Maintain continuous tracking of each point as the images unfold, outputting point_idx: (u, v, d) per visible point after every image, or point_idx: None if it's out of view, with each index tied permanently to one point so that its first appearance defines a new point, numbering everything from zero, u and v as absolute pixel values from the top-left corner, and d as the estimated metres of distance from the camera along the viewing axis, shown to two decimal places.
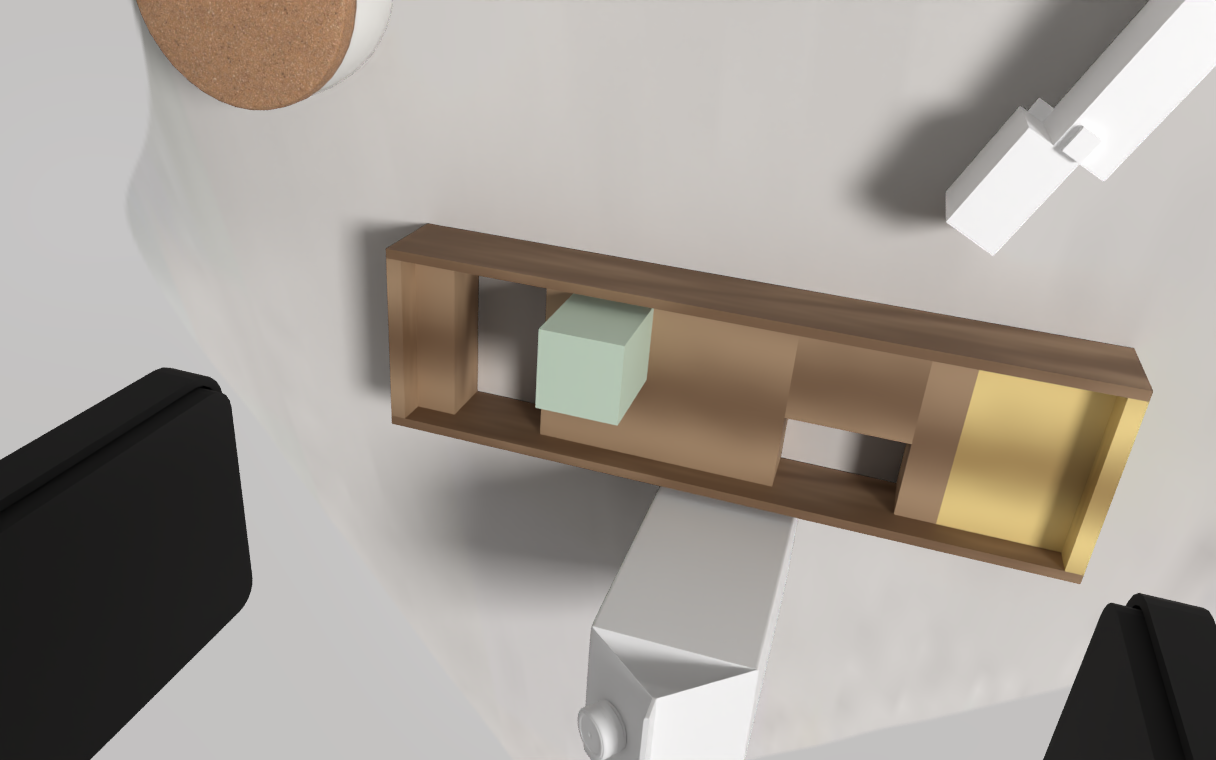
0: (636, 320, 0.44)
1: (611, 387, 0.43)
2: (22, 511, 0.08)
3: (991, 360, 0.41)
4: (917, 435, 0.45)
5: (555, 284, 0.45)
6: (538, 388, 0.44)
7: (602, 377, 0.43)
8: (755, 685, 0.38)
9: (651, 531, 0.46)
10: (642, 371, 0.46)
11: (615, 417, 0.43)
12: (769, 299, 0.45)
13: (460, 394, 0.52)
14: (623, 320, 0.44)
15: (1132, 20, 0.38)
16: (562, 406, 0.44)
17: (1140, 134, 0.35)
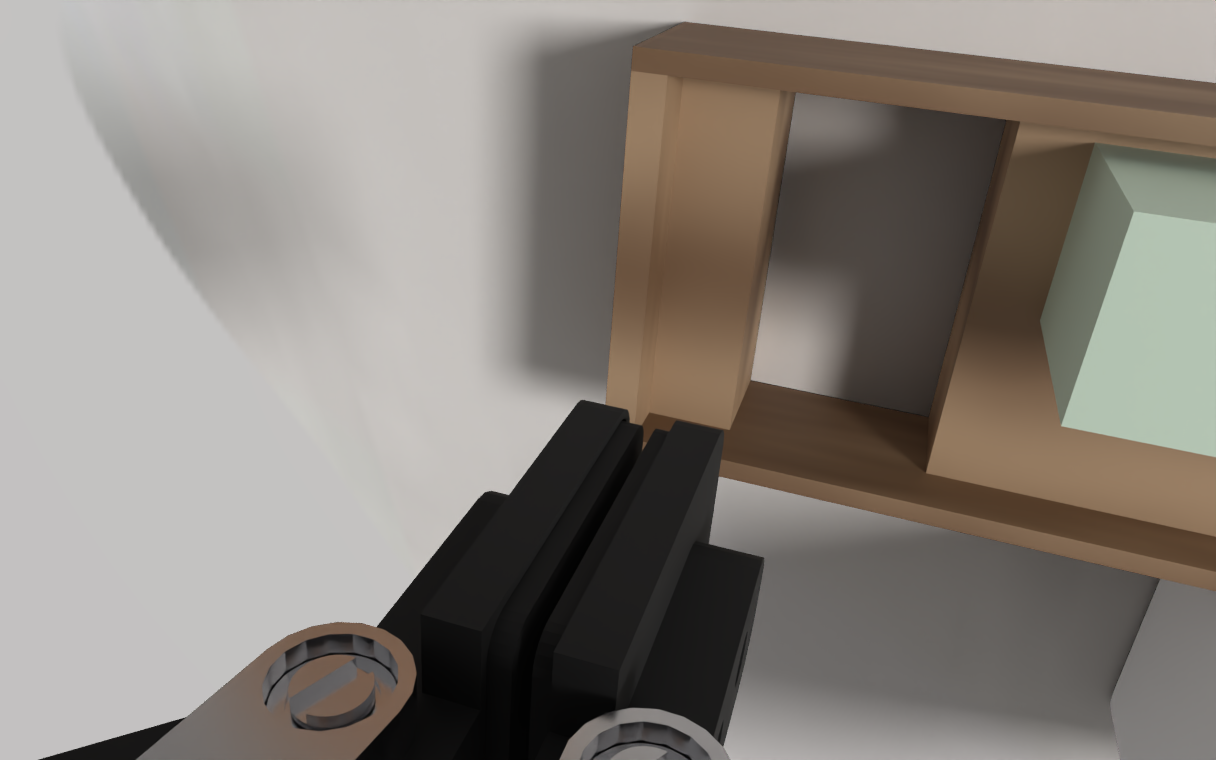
0: None
1: None
2: (554, 552, 0.08)
3: None
4: None
5: (1087, 115, 0.18)
6: (1084, 378, 0.17)
7: None
8: None
9: None
10: None
11: None
12: None
13: (739, 388, 0.25)
14: None
15: None
16: (1146, 424, 0.17)
17: None
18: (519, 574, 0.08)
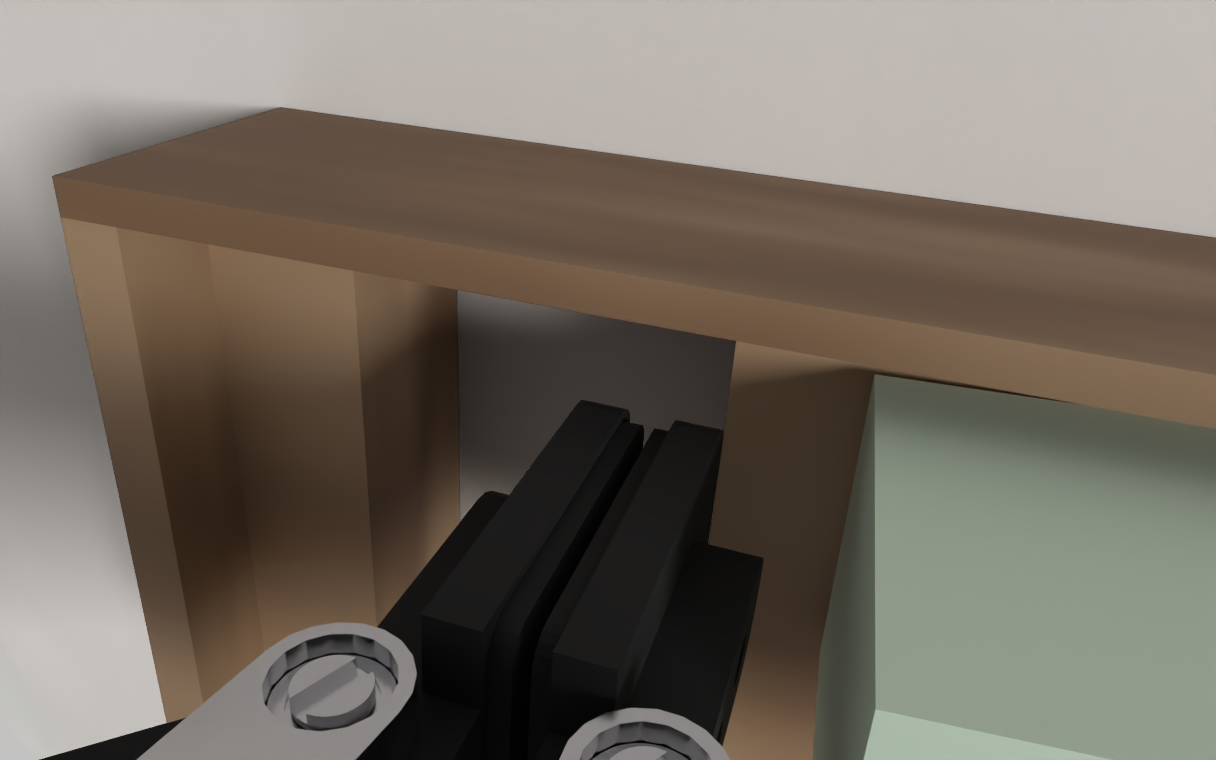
0: None
1: None
2: (554, 552, 0.08)
3: None
4: None
5: (819, 330, 0.09)
6: None
7: None
8: None
9: None
10: None
11: None
12: None
13: None
14: None
15: None
16: None
17: None
18: (519, 574, 0.08)
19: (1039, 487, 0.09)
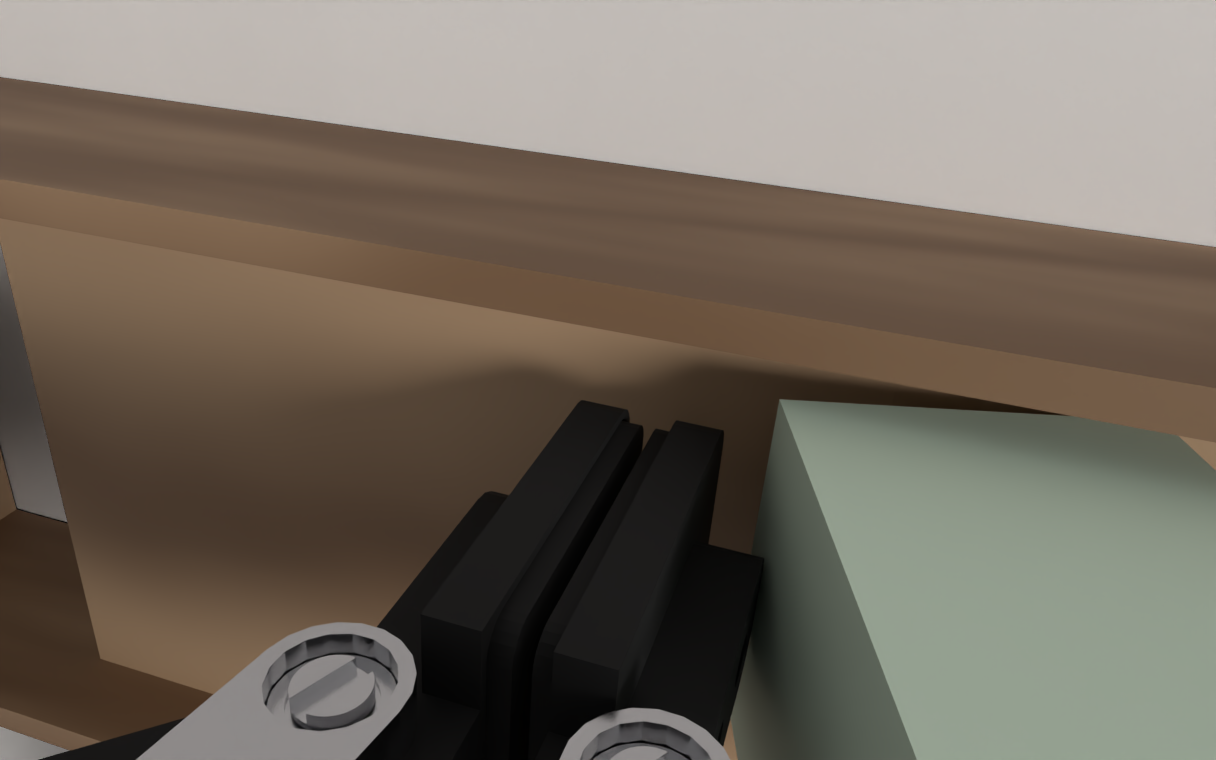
0: None
1: None
2: (554, 552, 0.08)
3: None
4: None
5: None
6: None
7: None
8: None
9: None
10: None
11: None
12: (770, 231, 0.11)
13: None
14: None
15: None
16: None
17: None
18: (519, 574, 0.08)
19: (989, 515, 0.08)
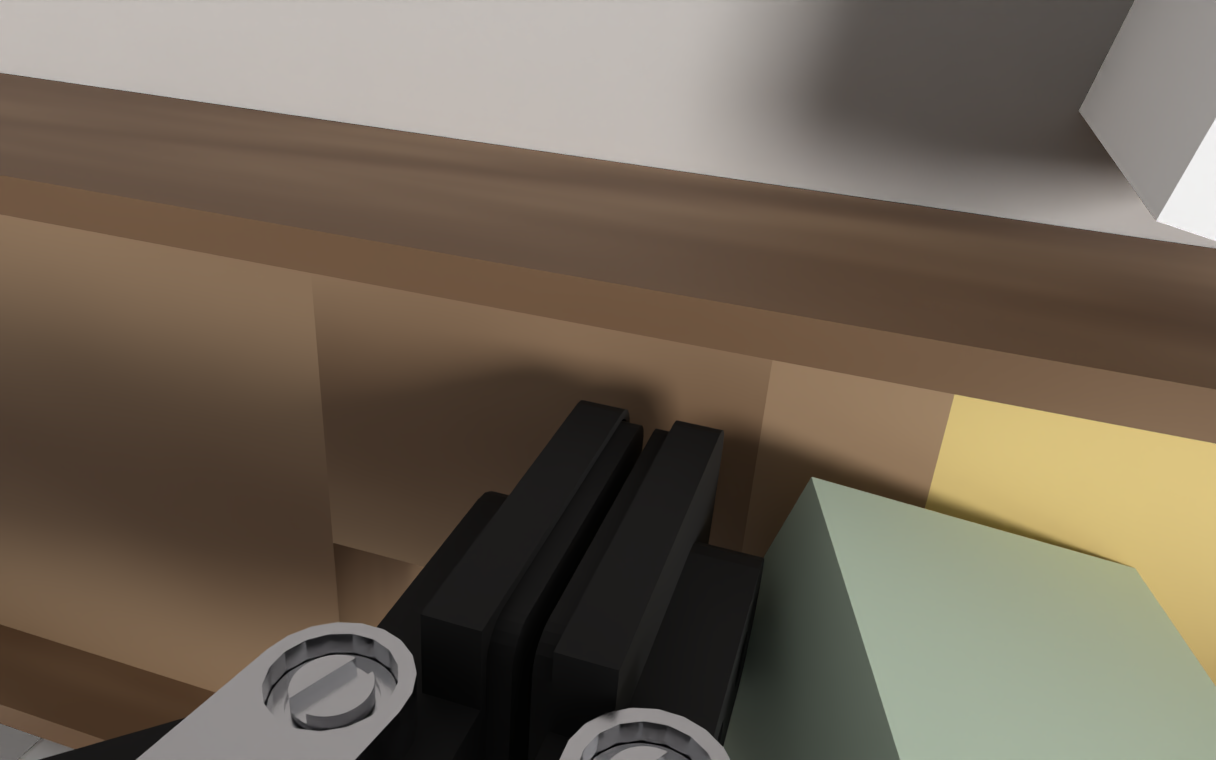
0: None
1: None
2: (554, 552, 0.08)
3: (1007, 349, 0.09)
4: None
5: None
6: None
7: None
8: None
9: None
10: None
11: None
12: (233, 146, 0.13)
13: None
14: (1183, 732, 0.08)
15: None
16: None
17: None
18: (519, 575, 0.08)
19: (996, 647, 0.09)
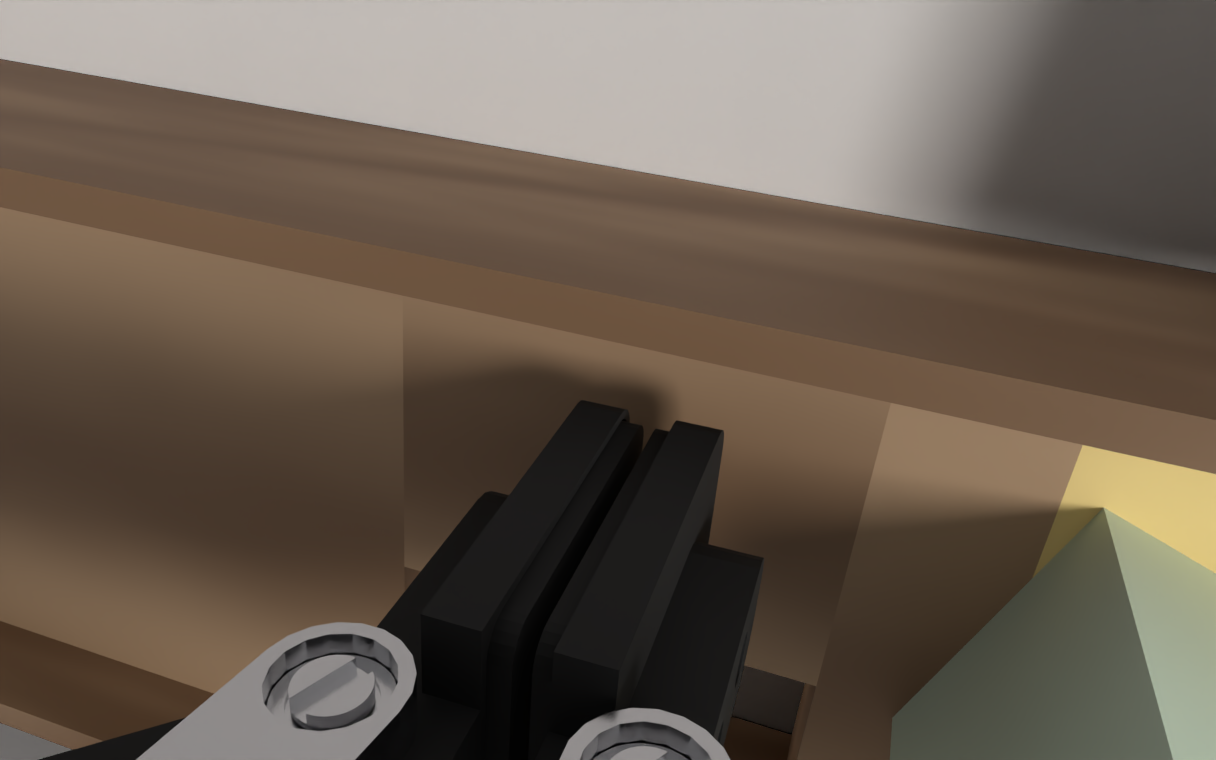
0: None
1: None
2: (553, 552, 0.08)
3: (1171, 407, 0.08)
4: (836, 661, 0.12)
5: None
6: None
7: None
8: None
9: None
10: None
11: None
12: (319, 158, 0.13)
13: None
14: None
15: None
16: None
17: None
18: (518, 574, 0.08)
19: None
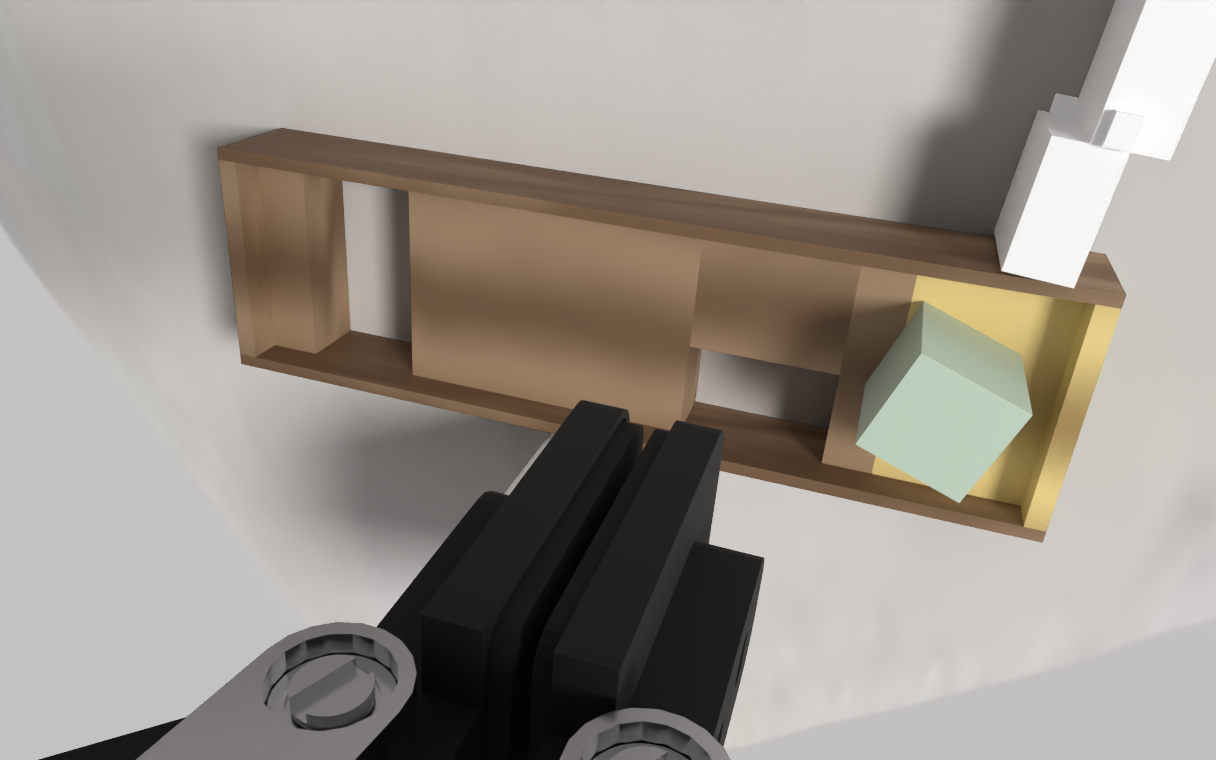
0: (1018, 373, 0.33)
1: (980, 456, 0.32)
2: (554, 551, 0.08)
3: (928, 262, 0.33)
4: (846, 364, 0.37)
5: (412, 185, 0.38)
6: (873, 424, 0.32)
7: (975, 441, 0.31)
8: None
9: None
10: None
11: (962, 493, 0.32)
12: (668, 201, 0.37)
13: (323, 330, 0.45)
14: (1004, 368, 0.33)
15: None
16: (894, 455, 0.32)
17: (1190, 92, 0.28)
18: (518, 574, 0.08)
19: (959, 338, 0.33)
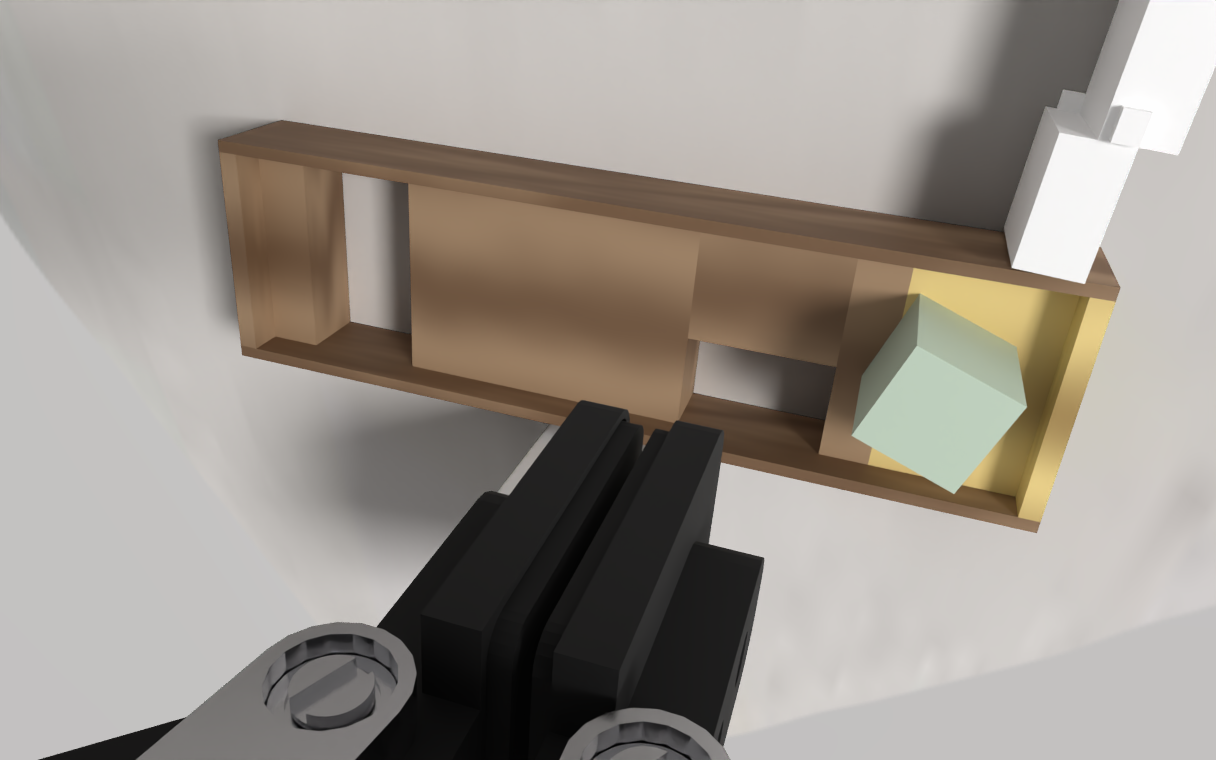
0: (1013, 366, 0.33)
1: (975, 448, 0.32)
2: (554, 551, 0.08)
3: (924, 255, 0.33)
4: (842, 356, 0.37)
5: (411, 177, 0.38)
6: (869, 415, 0.33)
7: (970, 432, 0.32)
8: None
9: None
10: None
11: (957, 484, 0.33)
12: (666, 194, 0.38)
13: (324, 322, 0.45)
14: (999, 361, 0.33)
15: None
16: (890, 446, 0.33)
17: (1197, 87, 0.28)
18: (518, 574, 0.08)
19: (955, 331, 0.34)
